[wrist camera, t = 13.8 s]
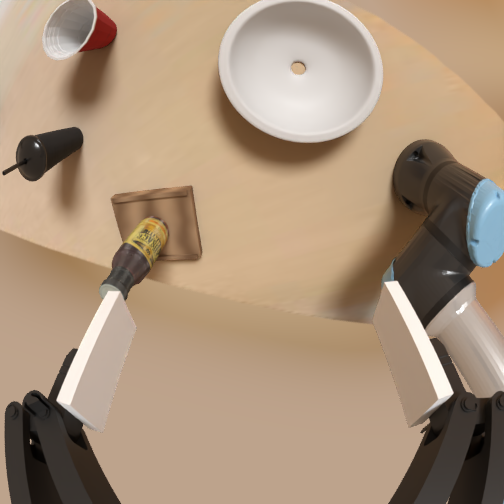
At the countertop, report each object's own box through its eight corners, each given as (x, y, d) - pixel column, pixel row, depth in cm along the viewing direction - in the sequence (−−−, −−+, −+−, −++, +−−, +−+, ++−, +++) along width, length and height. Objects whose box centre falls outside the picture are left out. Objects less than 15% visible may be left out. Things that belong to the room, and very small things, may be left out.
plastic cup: (71, 58, 32) (31, 58, 22) (93, 8, 26) (56, -4, 16) (114, 66, 34) (77, 64, 24) (139, 13, 29) (108, -4, 19)
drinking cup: (93, 151, 43) (25, 191, 26) (65, 161, 43) (-1, 202, 26) (84, 114, 38) (11, 139, 22) (56, 127, 39) (-15, 157, 22)
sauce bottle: (176, 234, 50) (144, 309, 34) (151, 247, 52) (115, 320, 35) (157, 206, 47) (112, 273, 31) (133, 221, 49) (85, 288, 32)
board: (192, 185, 47) (189, 190, 45) (202, 251, 55) (200, 258, 53) (114, 194, 48) (109, 199, 46) (131, 254, 55) (127, 261, 53)
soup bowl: (382, 117, 40) (400, 122, 34) (255, 155, 44) (256, 165, 39) (337, -4, 27) (349, -16, 22) (200, 32, 32) (192, 23, 27)
